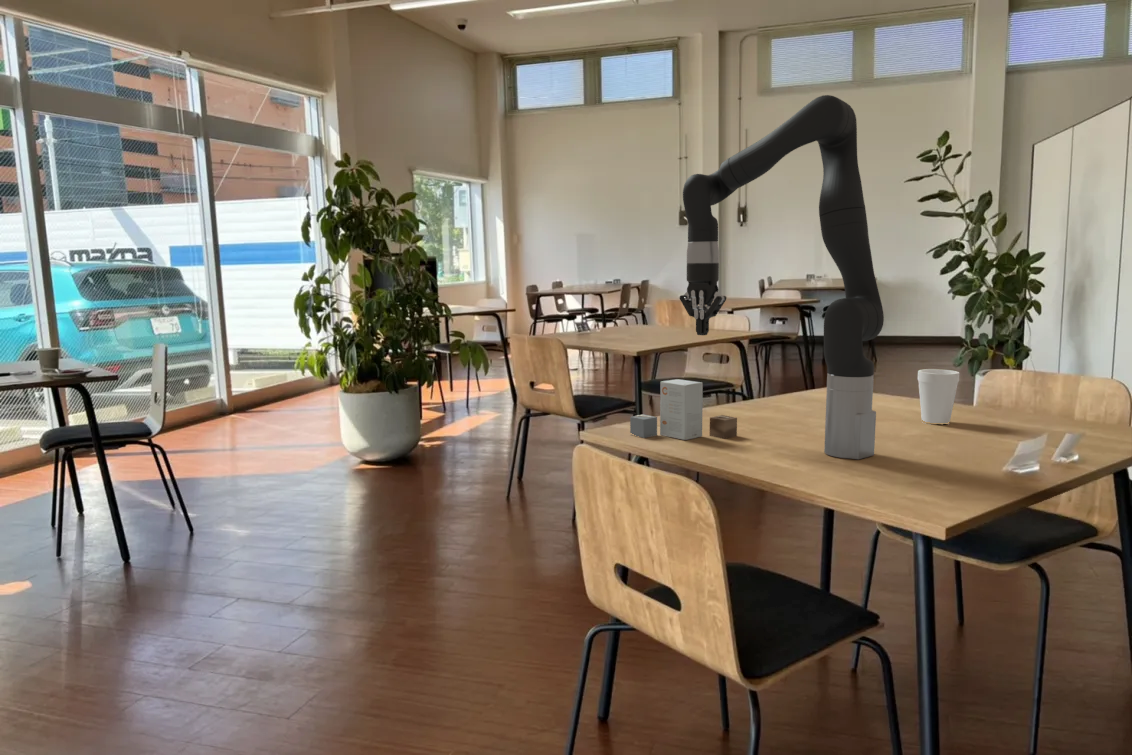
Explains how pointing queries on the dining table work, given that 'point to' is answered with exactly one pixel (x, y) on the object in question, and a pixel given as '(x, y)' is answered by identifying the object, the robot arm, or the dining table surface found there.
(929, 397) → the foam cup
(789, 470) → the dining table surface
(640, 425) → the slate block seven
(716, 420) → the walnut block one
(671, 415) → the small box
